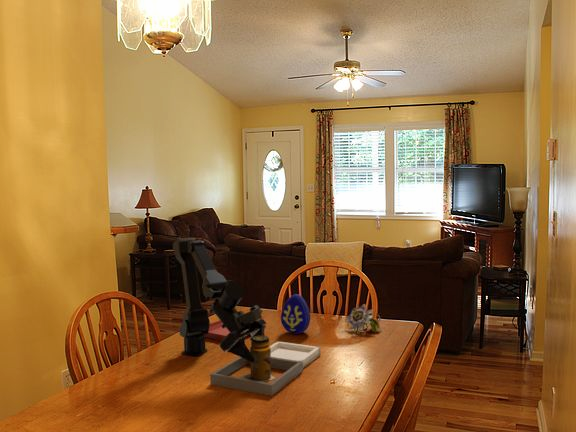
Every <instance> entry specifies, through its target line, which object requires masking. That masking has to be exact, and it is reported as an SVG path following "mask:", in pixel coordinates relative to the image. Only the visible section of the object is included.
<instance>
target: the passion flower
mask: <svg viewBox="0 0 576 432" xmlns="http://www.w3.org/2000/svg"><path fill="white" fill-rule="evenodd" d="M366 308H367V306H366V303H364V304H362V306H358V307H353V309H352V310H351V311H350V314H349V315H348V317H347V318H345V319H344V322H345V323H349V324H350V325H351V326H350V329H351V330H353V332H354V333H357V332H358V331H359V330H360V331H364V329H365V326H366V328H367V329H368V328H369V327H368V325H370V327H371V329H372V331H373V333H376V334H377V329H378V330H380V324H379V322H378V321H377V320H376V319H374V318H375V317H377V318H378V319H379V321H381V320H382V319H381V317H380V315H379V314H375V315H372V314H373V312H374V309H368V310H366Z"/></svg>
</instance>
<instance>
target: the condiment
mask: <svg viewBox="0 0 576 432" xmlns="http://www.w3.org/2000/svg"><path fill="white" fill-rule="evenodd" d="M251 338H252V337H251ZM251 338H250V339H251ZM250 341H251V342H250V345H251V346H250V347H249V351H250V352H251V354H252V355H253V357H254V359H255V361H254V362H250V364H249V365H250V373H247V374H244V375H239V378H244V379H249V380H255V381H260V382H268V381H273V380H275V379H277V377H276V376H273V375H272V374H271V373H272V371H271V369H272V368H271V350H270V346H271V345H270V338H269V336H266V335H265V336H254V337H253V338H252V339H251V340H250Z"/></svg>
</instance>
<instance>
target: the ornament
mask: <svg viewBox="0 0 576 432" xmlns="http://www.w3.org/2000/svg"><path fill="white" fill-rule="evenodd" d="M280 314H281V315H280V322H281V326H282V327H283V328H284V330H286V332H287V333H291V334H293V335H294V334H295V335H297V334H302V333H304V332H306V330H308V328H309V326H310V325H311V324H310V323H311V313H310V308H309V306H308V304H307V302H306V300H305V299H304V297H303V296H302V295H300V294H298V293H295V294H293V295H292V294H291V296H289V297H288V299H287V300H286V301H285V302H284V305H283V308H282V310H281V313H280Z"/></svg>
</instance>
